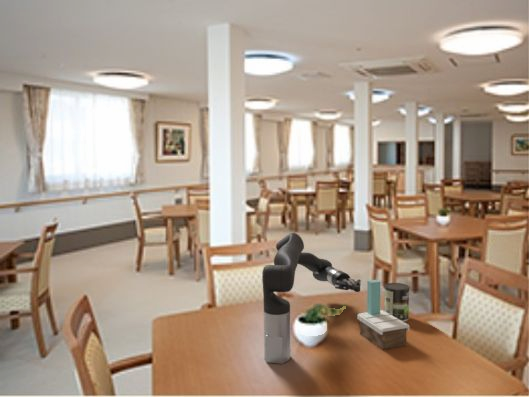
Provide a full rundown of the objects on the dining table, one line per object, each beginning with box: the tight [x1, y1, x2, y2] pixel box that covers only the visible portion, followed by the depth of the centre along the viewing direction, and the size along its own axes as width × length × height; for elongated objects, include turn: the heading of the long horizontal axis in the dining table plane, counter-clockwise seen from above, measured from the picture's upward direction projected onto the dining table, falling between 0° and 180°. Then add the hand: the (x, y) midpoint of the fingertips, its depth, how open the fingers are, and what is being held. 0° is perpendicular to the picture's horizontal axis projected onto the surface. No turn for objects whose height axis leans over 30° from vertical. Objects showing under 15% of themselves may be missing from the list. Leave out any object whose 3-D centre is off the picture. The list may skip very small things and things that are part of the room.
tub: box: [359, 320, 408, 351], centre depth 176 cm, size 16×10×7 cm, turn 19°
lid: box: [356, 279, 410, 335], centre depth 175 cm, size 17×12×15 cm
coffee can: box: [383, 282, 410, 323], centre depth 198 cm, size 10×10×14 cm
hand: (358, 289), depth 191 cm, fingers closed
